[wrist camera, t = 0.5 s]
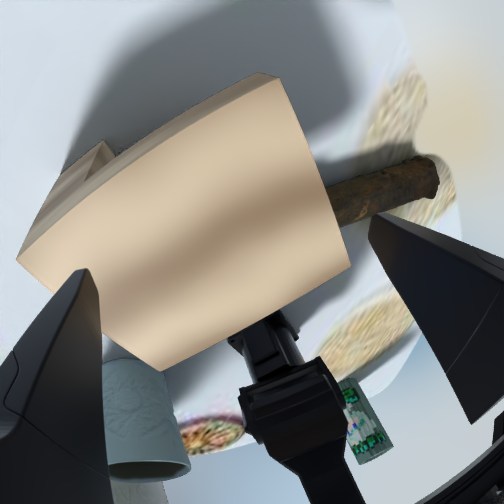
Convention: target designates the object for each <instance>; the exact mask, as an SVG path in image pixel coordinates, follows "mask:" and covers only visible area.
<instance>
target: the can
mask: <svg viewBox="0 0 504 504" xmlns="http://www.w3.org/2000/svg"><path fill="white" fill-rule="evenodd" d="M338 385H339V387H340V389H341V391H342V394H343V396H344V399H345V402H346V406H347V408H346V409H345V410H343V411H344V414H345V416H346V418H347V420H348V431H347V438H346V440H347V441H348V443H349V445H350V447H351V449H352V451H353V453H354V455H355V457H356V459H357V461H358V463H359V465H362V464H365V463H367V462H369V461H371V460H373V459H375V458H377V457H379V456H380V455H382V454H384V453H386V452H387V451H389V450H390V449H391V448H392V447H394V446H393V444H392V442H391V441H390V439H389V437H388V435H387V433H386V431H385V430H384V428H383V426H382V425H381V423H380V421H379V419H378V418H377V416H376V414H375V412H374V410H373V408H372V407H371V405H370V403H369V401H368V400H367V398H366V396H365V394H364V393H363V391H362V389H361V387H360V386H359V384H358V382H357V380H356V379H355V378H350V379H347V380H344V381H341V382H340V383H338Z"/></svg>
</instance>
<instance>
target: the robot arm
mask: <svg viewBox="0 0 504 504" xmlns="http://www.w3.org/2000/svg"><path fill="white" fill-rule="evenodd" d="M368 240H369V242H370V244H371V246H372V248H373V250H374V251H375V253H376V255H377V257H378V259H379V261H380V263H381V264H382V266H383V268H384V270H385V272H386V274H387V276H388V277H389V279H390V281H391V282H392V284H393V285H394V287H395V288H396V290H397V291H398V293H399V295H400V296H401V298H402V299H403V301H404V303H405V304H406V306H407V308H408V309H409V311H410V312H411V314H412V316H413V317H414V319H415V321H416V322H417V324H418V326H419V327H420V329H421V331H422V333H423V334H424V336H425V338H426V339H427V341H428V343H429V345H430V346H431V348H432V350H433V352H434V354H435V355H436V357H437V359H438V361H439V362H440V364H441V366H442V368H443V370H444V372H445V373H446V376H447V378H448V380H449V382H450V384H451V386H452V388H453V390H454V392H455V394H456V396H457V398H458V399H459V402H460V404H461V406H462V408H463V410H464V412H465V414H466V416H467V418H468V421H469V422H470V424H471V425H472V424H473V423H475V422H476V421H477V420H478V419H479V418H481V417H482V416H483V415H484V414H486V413H487V412H488V411H489V410H490V409H491V408H493V407H494V406H495V405H496V404H497V403H498V402H499V401H501V399H503V398H504V259H503V258H501V257H498V256H496V255H493V254H491V253H488V252H486V251H483V250H481V249H479V248H476V247H474V246H470V245H469V244H467V243H464V242H462V241H459V240H457V239H454V238H452V237H449V236H447V235H444V234H442V233H439V232H436V231H434V230H431V229H429V228H426V227H423V226H421V225H418V224H415V223H412V222H410V221H407V220H404V219H401V218H399V217H396V216H393V215H390V214H387V213H384V212H382V213H376V214H374V215H373V216H372V218H371V222H370V227H369V232H368ZM298 339H299V337H298V335H297V333H296V332H295V330H294V329H293V327H292V326H291V325H290V323H289V322H288V320H287V319H286V317H285V316H284V315H283V313H282V312H281V311H280V310H277V311H275V312H273V313H271V314H270V315H268V316H266V317H264V318H262V319H261V320H259V321H257V322H255V323H253V324H252V325H250V326H248V327H246V328H244V329H242V330H241V331H239V332H237V333H235V334H233V335H231V336H229V337H228V338H227V341H228V343H229V344H230V345H231V346H232V347H233V348H234V349H235V350H237V351H238V352H239V353H240V354H241V355H242V356H243V357H244V359H245V362H246V364H247V367H248V370H249V373H250V376H251V378H252V381H253V384H252V385H250V386H247V387H242V388H239V391H240V395H239V397H238V401H239V404H240V407H241V410H242V416H243V423H244V429H245V432H246V433H248V434H250V435H252V436H253V438H254V439H255V440H256V441H257V443H258V444H259V445H260V444H263V443H264V445H265V447H266V449H267V452H268V453H269V455H270V456H271V457H272V458H273V459H275V460H276V461H278V462H279V463H280V464H282V465H283V466H284V467H286V468H287V469H289V470H290V471H292V472H293V473H295V474H296V475H298V477H299V478H300V481H301V483H302V485H303V488H304V490H305V492H306V494H307V497H308V499H309V501H310V503H311V504H366V503H365V501H364V499H363V497H362V495H361V493H360V491H359V489H358V487H357V484H356V482H355V480H354V478H353V476H352V474H351V472H350V470H349V468H348V465H347V463H346V461H345V459H344V452H345V446H346V438H347V431H348V420H347V418H346V416H345V414H344V411H343V410H345V409H346V408H347V406H346V402H345V399H344V396H343V394H342V391H341V389H340V387H339V385H338V383H337V382H336V380H335V379H334V377H333V375H332V374H331V372H330V371H329V369H328V368H327V366H326V365H325V363H324V362H323V360H322V359H321V357H320V356H318V357H316V358H315V359H313V360H311V361H309V362H306V363H305V361H304V359H303V357H302V355H301V353H300V351H299V349H298V347H297V345H296V343H295V341H297V340H298ZM109 478H110V475H109V467H108V459H107V450H106V439H105V427H104V412H103V387H102V332H101V319H100V304H99V293H98V289H97V287H96V285H95V282H94V280H93V277H92V275H91V273H90V271H89V269H87V268H83V269H78V270H75V271H74V272H73V273H72V274H71V275H70V277H69V278H68V279H67V280H66V281H65V282H64V284H63V285H62V286H61V287H60V288H59V289H58V291H57V292H56V293H55V294H54V296H53V297H52V298H51V299H50V300H49V302H48V303H47V304H46V305H45V307H44V308H43V309H42V310H41V312H40V313H39V314H38V316H37V317H36V318H35V319H34V321H33V322H32V323H31V325H30V326H29V327H28V329H27V330H26V331H25V333H24V334H23V335H22V337H21V338H20V339H19V341H18V342H17V343H16V345H15V346H14V348H13V351H11V352H10V353H9V355H8V356H7V358H6V359H5V360H4V362H3V363H2V365H1V366H0V504H114V500H113V494H112V488H111V481H110V479H109ZM415 504H504V411H503V412H502V413H501V414H500V415H499V416H497V418H495V421H494V432H493V441H492V446H491V447H490V448H489V449H487V450H486V451H485V452H484V453H483V454H482V455H481V456H480V457H478V458H477V459H476V460H475V461H474V462H472V463H471V464H470V465H469V466H467V467H466V468H465V469H464V470H463V471H461V472H460V473H458V474H457V475H456V476H454V477H453V478H452V479H450V480H449V481H448V482H446V483H445V484H444V485H442V486H441V487H439V488H438V489H436V490H435V491H434V492H432V493H431V494H429V495H428V496H426V497H425V498H423V499H421V500H420V501H418V502H417V503H415Z"/></svg>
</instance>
